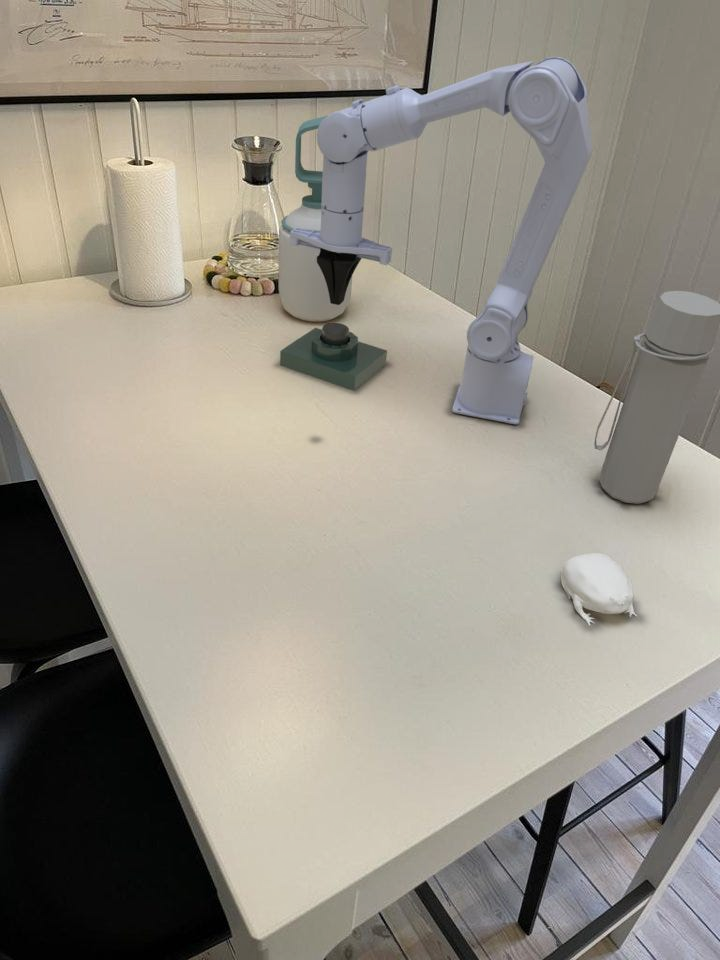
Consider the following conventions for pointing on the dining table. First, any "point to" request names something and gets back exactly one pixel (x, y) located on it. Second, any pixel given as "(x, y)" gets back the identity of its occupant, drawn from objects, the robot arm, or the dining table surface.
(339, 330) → the dark grey push button
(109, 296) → the dining table surface
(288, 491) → the dining table surface
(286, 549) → the dining table surface
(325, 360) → the green push button box
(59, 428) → the dining table surface
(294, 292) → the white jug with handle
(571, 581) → the chubby white toad
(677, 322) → the water bottle
